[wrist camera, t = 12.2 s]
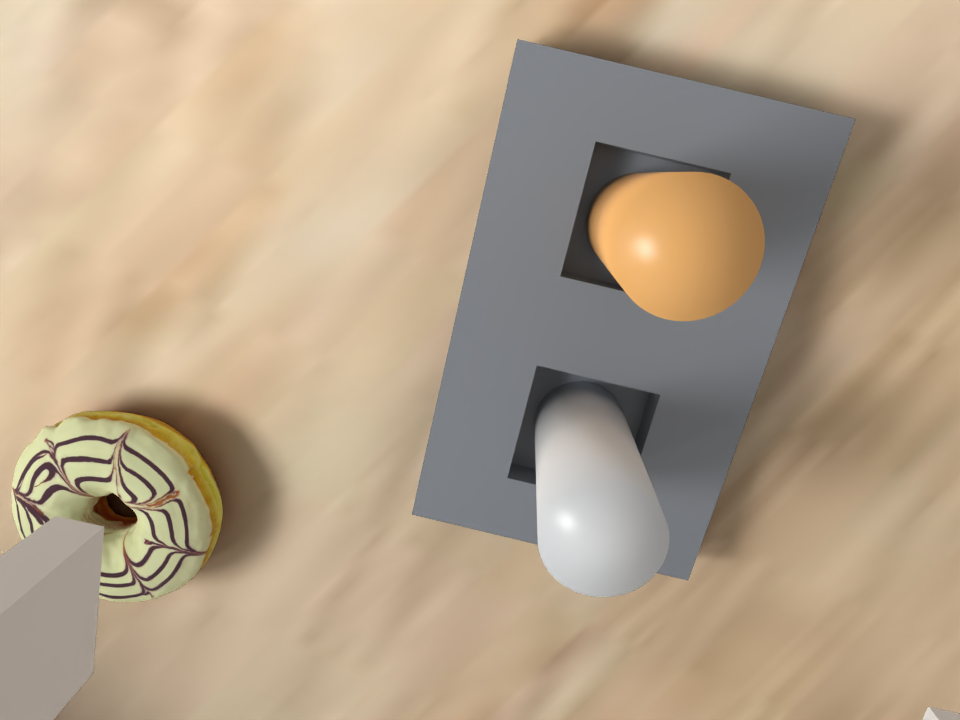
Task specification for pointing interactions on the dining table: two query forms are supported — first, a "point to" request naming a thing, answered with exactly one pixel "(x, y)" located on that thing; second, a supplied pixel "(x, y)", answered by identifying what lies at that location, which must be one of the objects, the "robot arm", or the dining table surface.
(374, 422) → the dining table surface
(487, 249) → the housing
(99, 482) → the decorated donut
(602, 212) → the tan tapered peg
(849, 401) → the dining table surface
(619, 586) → the white rounded peg
